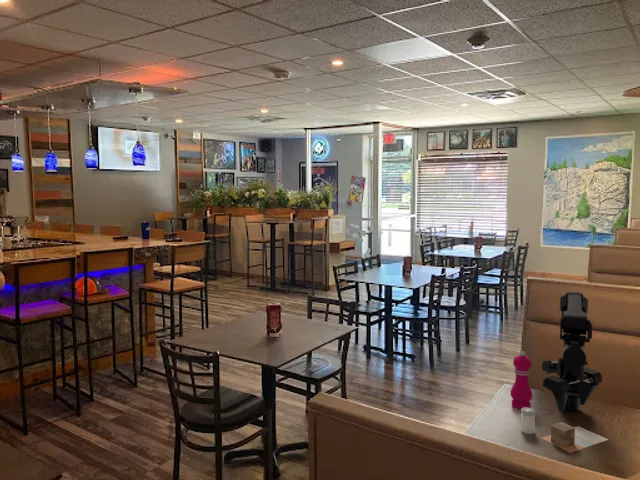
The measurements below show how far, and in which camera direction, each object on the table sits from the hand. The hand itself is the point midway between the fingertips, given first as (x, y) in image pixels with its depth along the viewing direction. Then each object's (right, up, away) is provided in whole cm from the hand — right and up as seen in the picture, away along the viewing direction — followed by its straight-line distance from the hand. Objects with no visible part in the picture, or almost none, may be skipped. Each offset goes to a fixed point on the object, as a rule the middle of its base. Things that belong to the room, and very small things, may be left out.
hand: (571, 407), depth 147 cm
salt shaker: (-10, -11, +8) cm, 17 cm away
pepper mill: (-3, -10, +29) cm, 31 cm away
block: (-3, -11, 0) cm, 11 cm away
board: (+2, -12, +3) cm, 12 cm away
